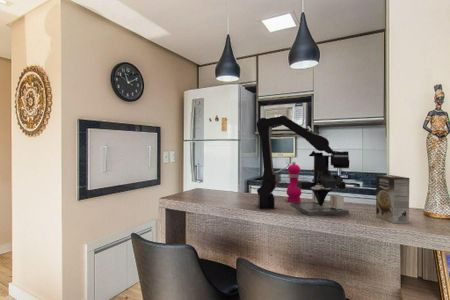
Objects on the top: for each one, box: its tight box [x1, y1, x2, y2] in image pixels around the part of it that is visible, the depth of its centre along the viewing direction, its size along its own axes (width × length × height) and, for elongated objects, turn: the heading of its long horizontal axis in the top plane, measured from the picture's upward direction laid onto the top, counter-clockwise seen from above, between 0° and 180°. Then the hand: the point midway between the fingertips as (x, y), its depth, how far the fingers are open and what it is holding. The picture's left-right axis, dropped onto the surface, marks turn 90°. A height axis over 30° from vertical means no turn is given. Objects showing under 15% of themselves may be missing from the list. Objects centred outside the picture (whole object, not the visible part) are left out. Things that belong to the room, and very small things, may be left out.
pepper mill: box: [286, 160, 302, 203], centre depth 126 cm, size 7×7×20 cm
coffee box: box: [375, 174, 411, 224], centre depth 93 cm, size 9×6×16 cm
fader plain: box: [311, 190, 318, 203], centre depth 116 cm, size 3×5×5 cm, turn 7°
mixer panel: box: [289, 200, 350, 217], centre depth 109 cm, size 17×20×2 cm
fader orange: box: [329, 193, 345, 209], centre depth 104 cm, size 3×5×5 cm, turn 7°
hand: (320, 205), depth 103 cm, fingers closed
